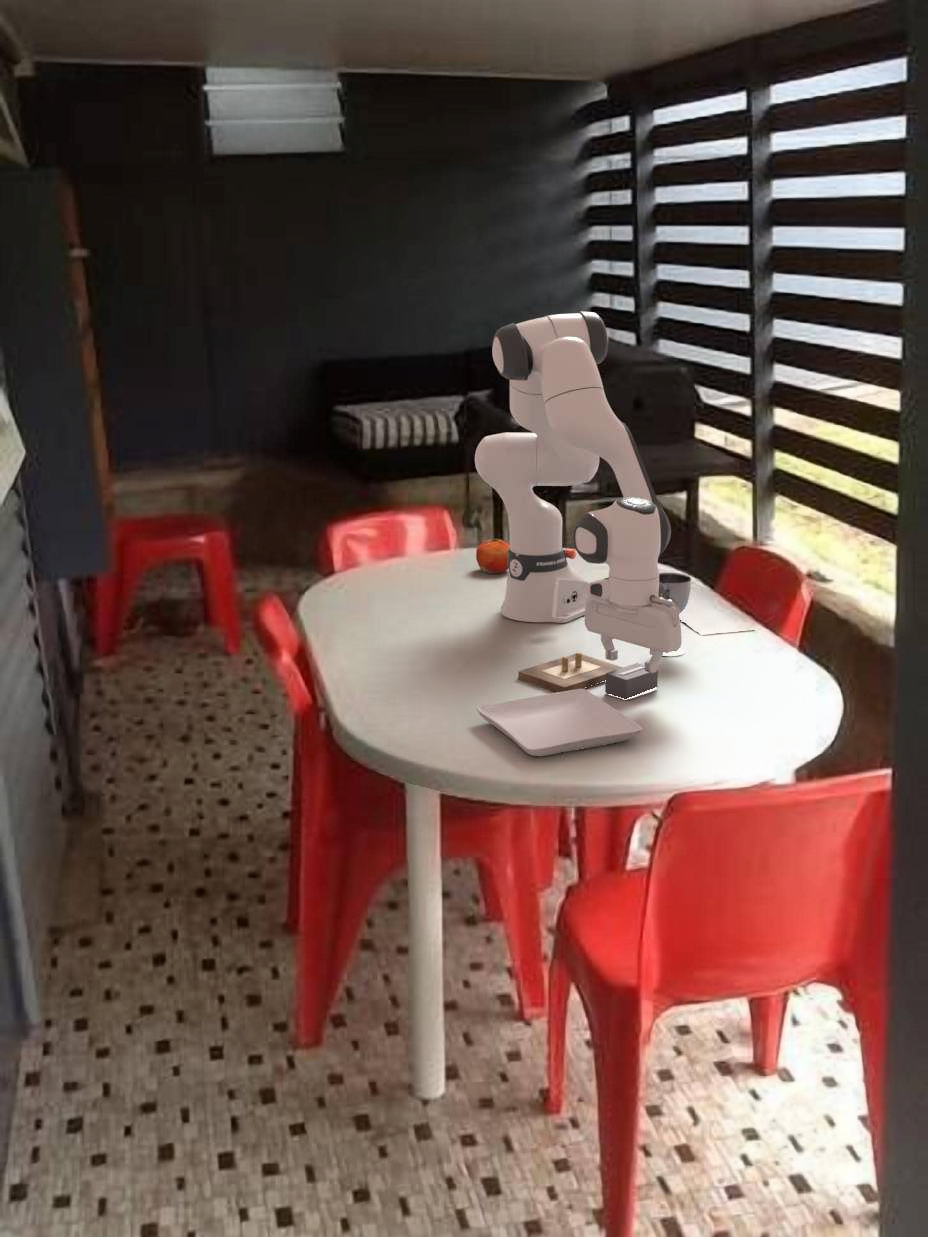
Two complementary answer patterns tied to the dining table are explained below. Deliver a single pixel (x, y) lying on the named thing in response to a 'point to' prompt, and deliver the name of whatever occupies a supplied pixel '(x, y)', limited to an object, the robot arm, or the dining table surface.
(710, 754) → the dining table surface
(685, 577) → the wine glass
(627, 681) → the socket block
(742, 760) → the dining table surface
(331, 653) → the dining table surface
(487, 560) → the tomato
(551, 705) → the salad plate
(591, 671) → the pin board
